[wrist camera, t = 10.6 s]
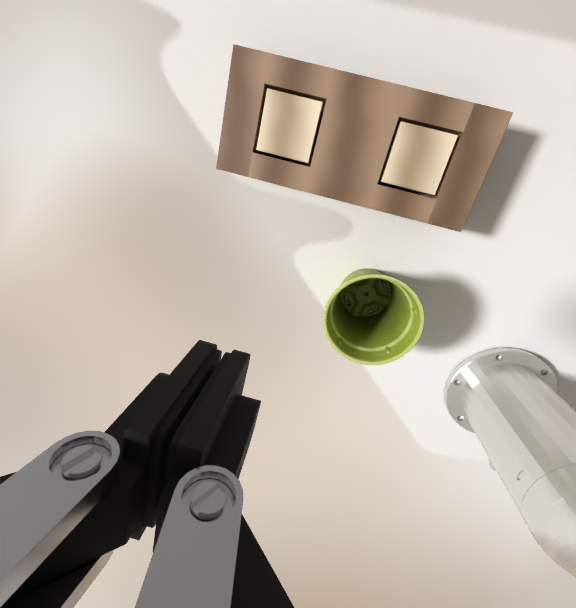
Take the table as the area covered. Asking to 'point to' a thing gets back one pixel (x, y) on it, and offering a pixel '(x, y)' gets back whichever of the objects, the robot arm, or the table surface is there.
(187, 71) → the table surface
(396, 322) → the plant pot
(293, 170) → the peg board
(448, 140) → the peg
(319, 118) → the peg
